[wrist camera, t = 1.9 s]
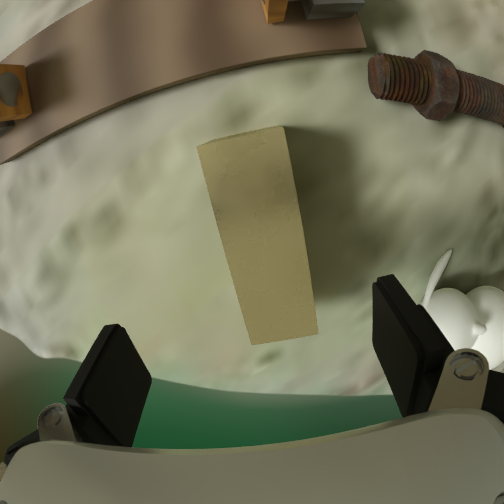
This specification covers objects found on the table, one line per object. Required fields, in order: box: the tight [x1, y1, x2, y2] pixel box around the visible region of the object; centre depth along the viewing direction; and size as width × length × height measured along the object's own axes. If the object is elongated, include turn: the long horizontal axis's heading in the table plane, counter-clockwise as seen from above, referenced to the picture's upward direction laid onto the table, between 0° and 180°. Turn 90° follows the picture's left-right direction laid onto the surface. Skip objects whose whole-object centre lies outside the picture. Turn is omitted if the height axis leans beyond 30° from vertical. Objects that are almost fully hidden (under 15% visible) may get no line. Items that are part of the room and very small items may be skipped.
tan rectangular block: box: [197, 126, 318, 345], centre depth 20 cm, size 4×13×6 cm, turn 12°
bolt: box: [368, 50, 504, 127], centre depth 15 cm, size 6×5×15 cm
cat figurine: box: [420, 249, 504, 370], centre depth 22 cm, size 9×11×12 cm
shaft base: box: [0, 0, 367, 165], centre depth 14 cm, size 30×9×6 cm, turn 102°
